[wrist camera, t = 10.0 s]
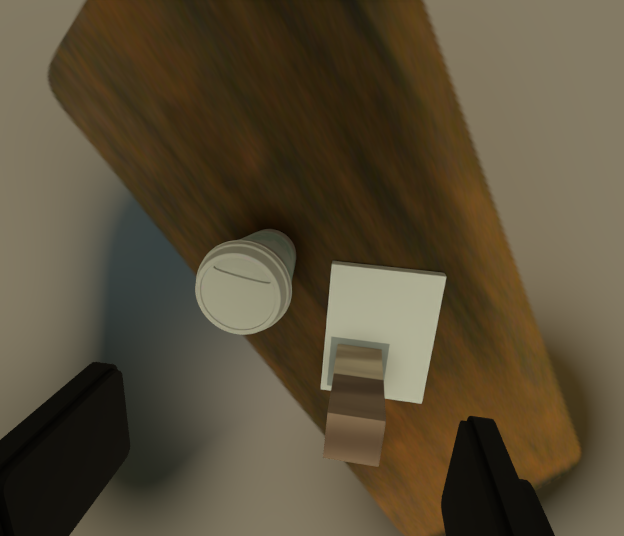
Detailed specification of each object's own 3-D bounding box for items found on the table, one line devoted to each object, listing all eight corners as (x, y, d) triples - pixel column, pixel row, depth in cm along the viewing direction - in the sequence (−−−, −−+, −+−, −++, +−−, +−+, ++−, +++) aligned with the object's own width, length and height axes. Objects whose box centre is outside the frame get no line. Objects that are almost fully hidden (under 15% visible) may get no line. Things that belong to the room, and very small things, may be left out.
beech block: (337, 343, 46) (333, 373, 40) (381, 349, 45) (383, 380, 40) (334, 380, 48) (329, 414, 42) (376, 386, 47) (377, 421, 41)
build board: (332, 260, 44) (331, 264, 43) (444, 272, 43) (446, 276, 42) (321, 383, 49) (320, 389, 48) (420, 397, 48) (421, 403, 47)
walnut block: (333, 373, 40) (327, 412, 35) (383, 380, 40) (385, 421, 34) (329, 413, 42) (323, 457, 36) (377, 421, 41) (378, 466, 36)
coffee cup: (324, 256, 44) (308, 299, 33) (272, 303, 47) (240, 358, 36) (269, 199, 43) (233, 224, 32) (218, 251, 46) (169, 290, 34)
